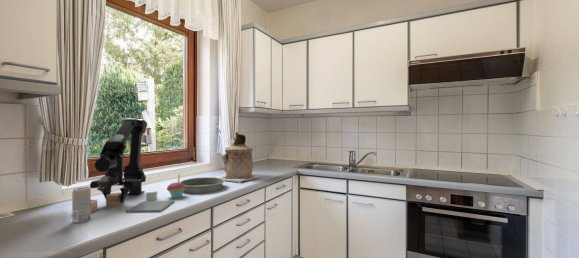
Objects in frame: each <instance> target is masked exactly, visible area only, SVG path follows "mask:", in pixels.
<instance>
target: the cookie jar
mask: <svg viewBox="0 0 579 258" xmlns="http://www.w3.org/2000/svg"><path fill="white" fill-rule="evenodd" d="M234 135H235V136H234V137H233V140H234V142H233V143H232V144H230V145H229V146H228V147H225V150H224V152H225V153H224V155H222V157H221V159H222V162H223V163H224V165H223V170H224V172H225V174H223V175H216V176H215V175H214V176H213V178H221V179H224V182H225V181H228V182H232V183H233V182H235V183H238V184H241V183H242V182H247V181H249V180H250V181H251V180H256V179H260V178H262V177H263V174H258V173H257V174H255V173H253V169H254V168H253V167H254V164H253V155H252V154H253V153H252V152H253V150H254V148H252V147H249V146H247V145H246V141H247V140H246V135H245V134H242V133H239V132H238V131H236V132H235V134H234Z"/></svg>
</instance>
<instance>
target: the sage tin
mask: <svg viewBox="0 0 579 258" xmlns="http://www.w3.org/2000/svg"><path fill="white" fill-rule="evenodd" d="M157 199H158V189H154V190H148V191H146V194H145V201H157Z"/></svg>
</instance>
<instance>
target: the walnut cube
mask: <svg viewBox="0 0 579 258" xmlns="http://www.w3.org/2000/svg"><path fill="white" fill-rule="evenodd" d="M124 204H125V201H124V202H123V203H121V192H111V194H109V195H106V199H105V207H107V208H108V207H110V208H111V207H113V208H117V207H120V206H123V205H124Z"/></svg>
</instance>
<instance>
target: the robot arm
mask: <svg viewBox="0 0 579 258" xmlns="http://www.w3.org/2000/svg"><path fill="white" fill-rule="evenodd" d="M147 127H148V122H147V121H146V120H145V119H142V118H141V119H137V118H135V117H134V118H131V117H130V118H127V117H126V118H124V119H123V121H122V124H121V126H120V127H119V129H118V130H117V131H116V133H115V135H114V136H113V135H112V136H111V137H109V138H108V139H107V140H106V141H105V143H104V145H103V147H102V150H101V153H100V155H99V158H98V159H97V160H96V161H95V163H94V167H95V169H96V171H98V172H101V173H104V172H105V174H104V176H102V177H101V178H99V179H96V180H92V181H91V182H90V183H89V188H90V189H96V190H97V191H99V192H101V194H102V195H103V196H104V199H105V200H106V195H109V194H111V193H112V188H113V186H119V187H120V186H122V187H120V188H119V190H120V193H121V203H123V202H124V203H125V200H126V198H127V196H137V195H141V194H143V193H145V190H143V189H142V187H143V185H142V184H143V183H145V182H146V180H147V176H146V174H145V173H144V167H143V166H142V165H141V154H142V153H141V151H142V139H143V138H142V137H143V135H145V133H146V131H147ZM129 136H131V139H130V149H129V162H128V164H127V165H125V166H124V159H123V158H124V157H125V154H124V153H125V151H126V149H127V146H128V145H127V142H126V141H127V140H128V138H129Z"/></svg>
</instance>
